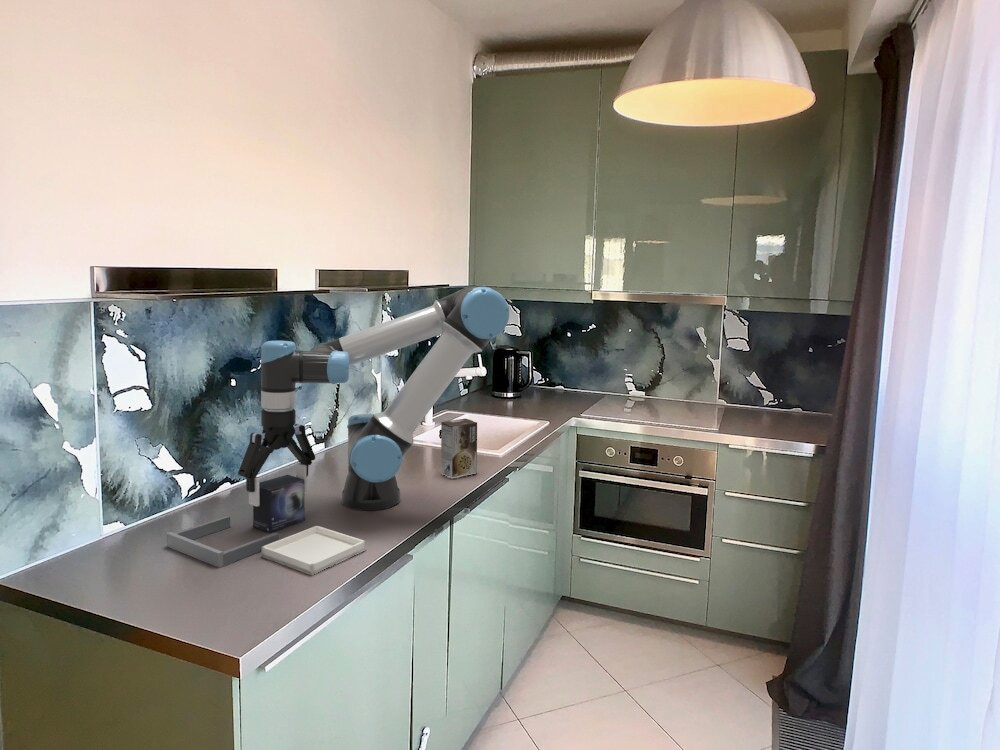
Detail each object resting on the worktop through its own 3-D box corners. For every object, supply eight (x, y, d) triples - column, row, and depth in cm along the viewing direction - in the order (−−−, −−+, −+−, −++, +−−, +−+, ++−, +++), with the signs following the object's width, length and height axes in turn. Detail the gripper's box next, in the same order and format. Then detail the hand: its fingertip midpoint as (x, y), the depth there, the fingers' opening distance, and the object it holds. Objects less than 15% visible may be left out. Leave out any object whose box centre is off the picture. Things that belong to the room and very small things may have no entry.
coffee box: (465, 469, 213) (466, 417, 210) (477, 474, 208) (478, 421, 205) (439, 474, 207) (440, 421, 205) (451, 479, 202) (452, 425, 200)
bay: (227, 526, 162) (227, 513, 162) (279, 544, 153) (279, 531, 152) (166, 546, 150) (166, 533, 149) (219, 567, 140) (218, 553, 140)
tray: (317, 534, 158) (316, 525, 158) (366, 550, 150) (366, 541, 150) (261, 556, 146) (261, 546, 145) (312, 575, 138) (311, 565, 137)
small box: (270, 534, 158) (269, 489, 157) (251, 527, 162) (250, 484, 160) (306, 520, 167) (305, 478, 166) (288, 515, 171) (287, 473, 169)
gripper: (309, 399, 172) (308, 482, 175) (220, 413, 151) (221, 507, 155) (330, 403, 168) (329, 488, 171) (242, 419, 147) (243, 515, 151)
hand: (278, 497), depth 163 cm, fingers open, 13 cm apart
